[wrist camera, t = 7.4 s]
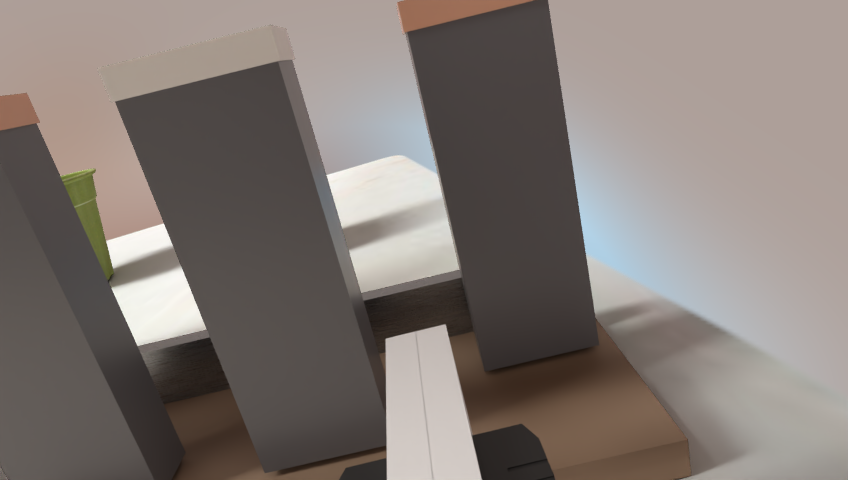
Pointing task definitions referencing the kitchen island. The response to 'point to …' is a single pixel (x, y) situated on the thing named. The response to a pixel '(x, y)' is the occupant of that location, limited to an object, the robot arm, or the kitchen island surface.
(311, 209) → the key middle
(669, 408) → the kitchen island surface
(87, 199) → the plant pot
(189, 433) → the key console
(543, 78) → the key
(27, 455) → the key
